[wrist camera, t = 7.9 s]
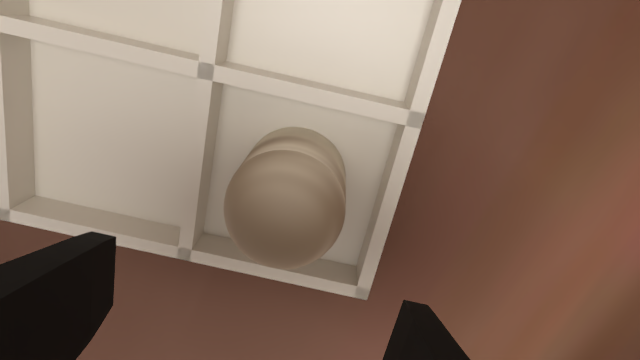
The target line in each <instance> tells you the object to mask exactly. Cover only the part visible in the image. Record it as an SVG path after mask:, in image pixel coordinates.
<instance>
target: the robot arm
mask: <svg viewBox="0 0 640 360" xmlns="http://www.w3.org/2000/svg"><path fill="white" fill-rule="evenodd" d="M115 252H116V237H115V236H111V235H106V234H102V233H97V232H93V231H91V232H87V233H84V234H81V235H78V236H75V237H72V238H70V239H67V240H64V241H61V242H59V243H56V244H54V245H51V246H48V247H46V248H43V249H40V250H38V251H35V252H32V253H30V254H27V255H24V256H22V257H19V258H16V259H14V260H11V261H8V262H6V263H3V264H0V360H76V358H77V357H78V356H79V355H80V354H81V352H82V351H83V350H84V349H85V347H86V346H87V345H88V343H89V342H90V341H91V339H92V338H93V336H94V335H95V333H96V332H97V330H98V328H99V327H100V325H101V324H102V322H103V320H104V319H105V317H106V315H107V314H108V312H109V311H110V309H111V307H112V306H113V294H114V273H115ZM383 360H470V359H469V358H468V356H467V355H466V354H465V353H464V351H463V350H462V349H461V347H460V346H459V345H458V343H457V342H456V341H455V340H454V338H453V337H452V336H451V334H450V333H449V332H448V330H447V329H446V328H445V326H444V325H443V324H442V322H441V321H440V320H439V319H438V317H437V316H436V315H435V313H434V312H433V311H432V310H431V308H430V307H429V306H428V305H425V304H420V303H416V302H411V301H407V300H404V301H403V303H402V306H401V309H400V312H399V315H398V318H397V320H396V323H395V326H394V329H393V332H392V335H391V337H390V340H389V343H388V346H387V349H386V352H385V354H384V357H383Z"/></svg>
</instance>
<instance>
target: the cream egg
mask: <svg viewBox="0 0 640 360" xmlns="http://www.w3.org/2000/svg"><path fill="white" fill-rule="evenodd" d="M345 213H346V172H345V166H344V162H343V159H342V157H341V155H340V153H339V151H338V150H337V148H336V147H335V146H334V144H333V143H332V142H331V141H330V140H328V139H327V138H326V137H325V136H323V135H321V134H320V133H318V132H316V131H313V130H311V129H307V128H302V127H285V128H281V129H277V130H275V131H272V132H270V133H269V134H267V135H266V136H264V137H263V138H262V139H261V140H260V141H258V142H257V144H256V145H255V146H254V148H253V149H252V150H251V152H250V153H249V154H248V156H247V157H246V159H245V160H244V161H243V163H242V164H241V165H240V167H239V168H238V170H237V171H236V172H235V174H234V175H233V177H232V179H231V181H230V182H229V185H228V187H227V190H226V194H225V198H224V219H225V223H226V227H227V230H228V233H229V234H230V236H231V238H232V240H233V242H234V243H235V245H236V246H237V247H238V248H239V249H240V251H241V252H242V253H244V254H245V255H246V256H247V257H249V258H250V259H251V260H253V261H255V262H257V263H259V264H261V265H264V266H267V267H270V268H276V269H294V268H299V267H302V266H305V265H308V264H310V263H312V262H314V261H316V260H317V259H319V258H320V257H322V256H323V255H324V254H325V253H326V252H327V251H328V250H329V249H330V248H331V247H332V246H333V245H334V243H335V242H336V240H337V238H338V236H339V234H340V232H341V230H342V227H343V224H344V219H345Z"/></svg>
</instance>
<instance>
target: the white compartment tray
mask: <svg viewBox="0 0 640 360" xmlns="http://www.w3.org/2000/svg"><path fill="white" fill-rule="evenodd" d="M460 3H461V0H0V220H4V221H9V222H13V223H18V224H22V225H27V226H31V227H36V228H40V229H45V230H50V231H54V232H59V233H63V234H68V235H72V236H78V235H81V234H84V233H87V232H91V231H93V232H97V233H102V234H106V235H111V236H115V237H116V245H118V246H122V247H127V248H131V249H136V250H140V251H145V252H150V253H154V254H159V255H163V256H168V257H172V258H177V259H181V260H186V261H190V262H195V263H200V264H204V265H209V266H213V267H218V268H222V269H227V270H231V271H236V272H240V273H245V274H250V275H254V276H259V277H263V278H268V279H272V280H277V281H281V282H286V283H291V284H295V285H300V286H304V287H309V288H313V289H318V290H322V291H327V292H331V293H336V294H341V295H345V296H350V297H354V298H359V299H363V300H367V298H368V295H369V292H370V289H371V286H372V282H373V279H374V276H375V273H376V270H377V267H378V263H379V260H380V257H381V254H382V251H383V248H384V244H385V241H386V238H387V235H388V232H389V228H390V225H391V222H392V219H393V216H394V213H395V209H396V206H397V203H398V200H399V197H400V194H401V190H402V187H403V184H404V181H405V178H406V174H407V171H408V168H409V165H410V162H411V159H412V155H413V152H414V149H415V146H416V143H417V140H418V136H419V133H420V130H421V127H422V124H423V120H424V117H425V114H426V111H427V108H428V105H429V101H430V98H431V95H432V92H433V89H434V86H435V82H436V79H437V76H438V73H439V70H440V67H441V63H442V60H443V57H444V54H445V51H446V47H447V44H448V41H449V38H450V35H451V32H452V28H453V25H454V22H455V19H456V16H457V13H458V9H459V6H460ZM285 127H302V128H307V129H311V130H313V131H316V132H318V133H320V134H321V135H323V136H325V137H326V138H327V139H328V140H330V141H331V142H332V143H333V144H334V146H335V147H336V148H337V150H338V151H339V153H340V155H341V157H342V159H343V162H344V166H345V172H346V213H345V219H344V224H343V227H342V230H341V232H340V234H339V236H338V238H337V240H336V242H335V243H334V245H333V246H332V247H331V248H330V249H329V250H328V251H327V252H326V253H325V254H324V255H323V256H322V257H320V258H319V259H317V260H316V261H314V262H312V263H310V264H308V265H305V266H302V267H299V268H294V269H276V268H270V267H267V266H264V265H261V264H259V263H257V262H255V261H253V260H251V259H250V258H249V257H247V256H246V255H245V254H244V253H242V252H241V251H240V249H239V248H238V247H237V246H236V245H235V243H234V242H233V240H232V238H231V236H230V234H229V233H228V230H227V227H226V223H225V219H224V198H225V194H226V190H227V187H228V185H229V182H230V181H231V179H232V177H233V175H234V174H235V172H236V171H237V170H238V168H239V167H240V165H241V164H242V163H243V161H244V160H245V159H246V157H247V156H248V154H249V153H250V152H251V150H252V149H253V148H254V146H255V145H256V144H257V142H258V141H260V140H261V139H262V138H263V137H264V136H266V135H267V134H269V133H270V132H272V131H275V130H277V129H281V128H285Z"/></svg>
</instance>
